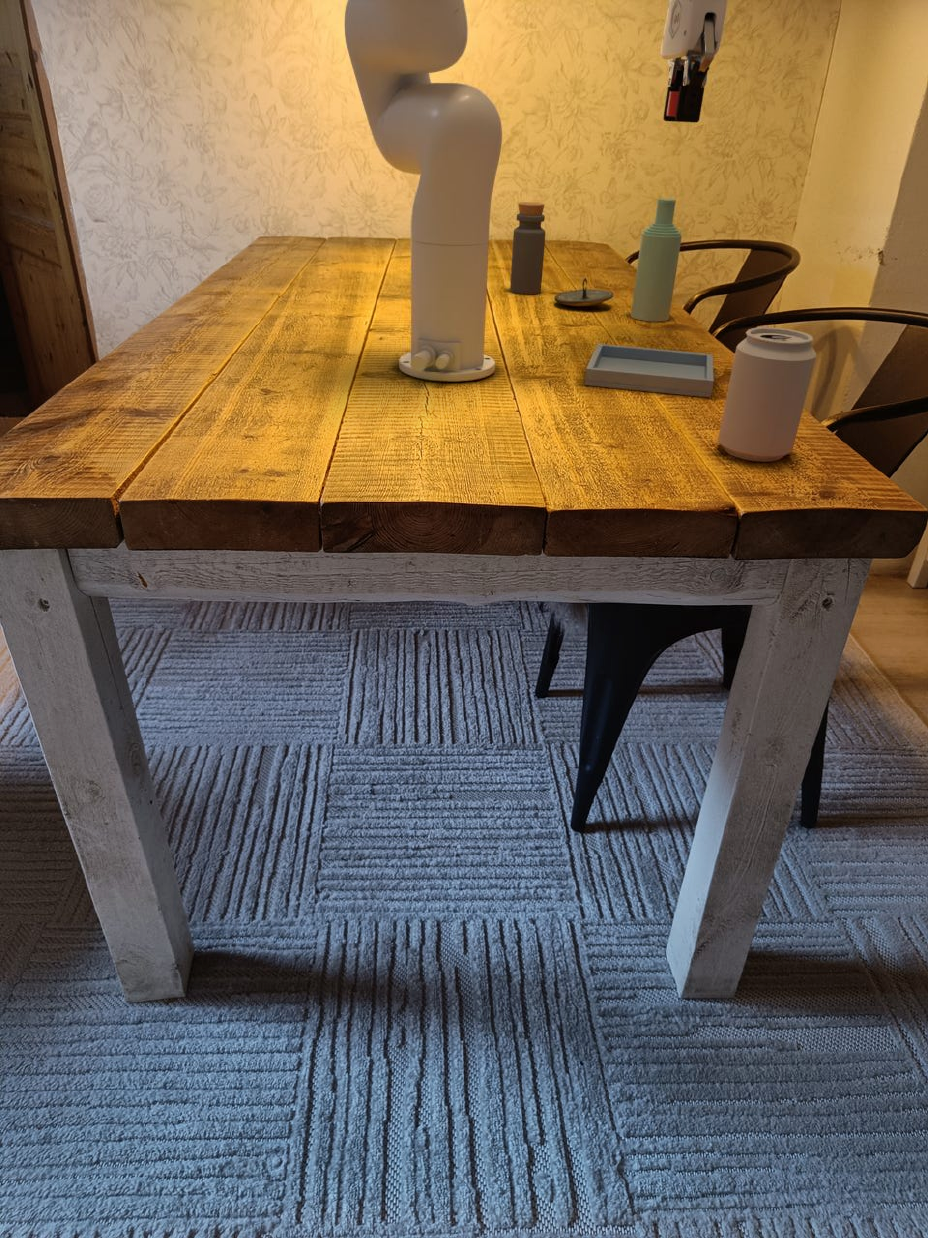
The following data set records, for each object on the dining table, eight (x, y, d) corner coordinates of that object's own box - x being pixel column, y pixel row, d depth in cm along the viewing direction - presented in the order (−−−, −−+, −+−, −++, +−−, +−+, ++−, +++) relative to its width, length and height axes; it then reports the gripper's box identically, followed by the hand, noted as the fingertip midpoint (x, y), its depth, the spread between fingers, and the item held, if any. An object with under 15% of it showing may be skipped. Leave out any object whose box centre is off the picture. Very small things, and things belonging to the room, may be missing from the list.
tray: (710, 397, 102) (713, 380, 101) (584, 385, 105) (586, 368, 104) (710, 369, 114) (712, 354, 112) (595, 358, 116) (597, 343, 115)
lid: (618, 319, 146) (627, 289, 144) (571, 306, 141) (580, 276, 139) (588, 309, 154) (596, 281, 152) (543, 297, 150) (551, 268, 148)
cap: (703, 117, 112) (707, 92, 111) (679, 116, 111) (683, 91, 109) (683, 116, 115) (687, 92, 114) (660, 115, 114) (663, 91, 112)
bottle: (504, 291, 156) (510, 203, 148) (517, 287, 161) (523, 200, 153) (533, 295, 154) (540, 205, 146) (545, 291, 158) (552, 203, 151)
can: (776, 439, 90) (803, 324, 83) (802, 465, 83) (834, 342, 77) (707, 438, 89) (730, 322, 83) (728, 463, 83) (754, 340, 77)
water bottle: (668, 322, 138) (687, 202, 129) (629, 319, 139) (645, 199, 130) (669, 315, 143) (687, 198, 134) (632, 312, 145) (647, 196, 135)
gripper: (656, -42, 110) (635, 119, 120) (702, -64, 96) (674, 121, 106) (710, -38, 111) (685, 122, 121) (763, -59, 97) (730, 123, 107)
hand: (680, 119), depth 113 cm, fingers closed on cap, 4 cm apart
